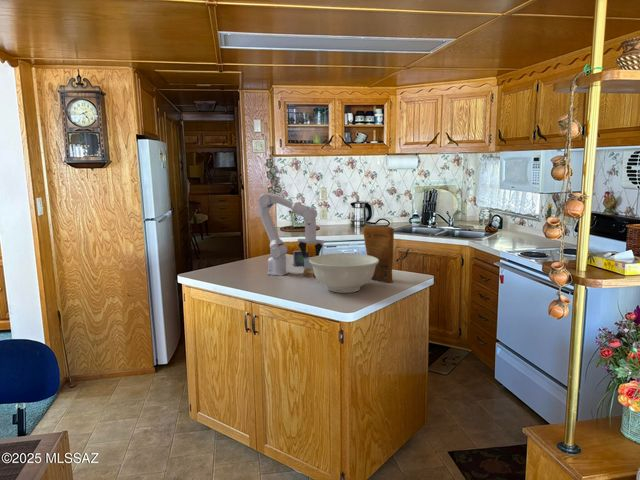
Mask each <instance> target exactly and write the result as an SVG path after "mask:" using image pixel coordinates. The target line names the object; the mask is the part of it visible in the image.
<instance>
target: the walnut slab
mask: <svg viewBox="0 0 640 480" xmlns="http://www.w3.org/2000/svg"><path fill="white" fill-rule="evenodd" d="M303 276H306V277H305V278H311V277H313V278H315V277H314V276H315V274H311V273H304V272H302V277H303Z"/></svg>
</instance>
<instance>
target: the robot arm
mask: <svg viewBox="0 0 640 480" xmlns="http://www.w3.org/2000/svg"><path fill="white" fill-rule="evenodd" d="M257 202H258V206H257V209H258V210H257V212H258V216H259V218H260V220H261V222H262V225H263V227H264V230H265V232H266V235H267V238H268V239H269V242H270V243H269V249H270V250H269V251H270V252H269V253H270V257H269V258H268V260H267V273H266V274H267V275H273V276H274V275H275V276H284V275H287V274H289V273H290V271H287V258H286V257H287V255H286V254H287V253H288V247H287V245H285V243H284V241H283V240H282V239H281V238H280V237H279V233H278V231H277V229H276V227H275V224H274V221H273V219H272V216H271V214H270V210H271V208H272V206H273V205H275V204H278V205H281V206H283V207H287V208H288V209H290V210H291V212H292V213H294V214H295V215H298V216H300V217H302V218H303V219H304V238H298V239H297V244H298V247H299V250H300V249H301V251H302V255H303V257H305V256H306V251H307V245H308V244H309V245H310V244H311V245H314V249H315V256H319V255H320V254H321V250H322V248H323V246H324V244H325V240H322V239H317V219H316V218H317V217H318V211H317V209H316V208H314V207H310V206H308V205H307V206H306V205H305V204H302V202H301V201H299V202H298V201H296V202H292V201H291V200H289V199H287V198H285V197H283V196H281V195H279V194H277V193H274V192H267V193H266V192H265V193H262V194H260V195H259V197H258V198H257Z"/></svg>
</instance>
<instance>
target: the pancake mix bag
mask: <svg viewBox="0 0 640 480" xmlns="http://www.w3.org/2000/svg"><path fill="white" fill-rule="evenodd" d="M362 235H363V240H364V247H365V252H366V253H365V254H366V255H369V256H373V257H375V258H377V259H378V260H379V262H378V264H377V265H376V267H375V271H374V275H373V277H372V278H371V280H372V279H374V280H373V281H376V280H378V281H377V282H381V281H382V282H381V283H385V282H392V283H394V282H393V281H394V280H393V259H394V239H395V236H394V235H395V228H393V227H392V226H383V225H382V226H381V225H379V226H378V225H375V226H374V225H364V226H362Z"/></svg>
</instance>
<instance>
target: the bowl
mask: <svg viewBox="0 0 640 480" xmlns="http://www.w3.org/2000/svg"><path fill="white" fill-rule="evenodd" d="M309 262H310V263H311V264H312V266H313V271H314V274H315V277H314V278H316V279H317V280H318V282H320V283H321V284H322V285H325V286H327V290H328V291H330V292H333V293H341V294H347V293H350V294H351V293H356V291H357V292H358V291H360V290H361V287H362V286H364V285H366V284H367V283H369V282H370V281H371V280H372V279H371V278H372V277H373V275H374V271H375V267H376V265H377V264H378V262H379V260H378V259H377V258H375V257H373V256H369V255H367V254H362V253H347V252H346V253H345V252H344V253H341V252H338V253H327V254H321V255H320V254H319V256H316V255H314V256H312V257H311V259H310V260H309Z"/></svg>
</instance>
